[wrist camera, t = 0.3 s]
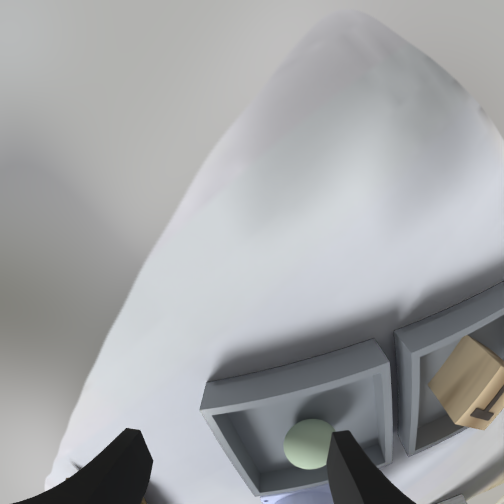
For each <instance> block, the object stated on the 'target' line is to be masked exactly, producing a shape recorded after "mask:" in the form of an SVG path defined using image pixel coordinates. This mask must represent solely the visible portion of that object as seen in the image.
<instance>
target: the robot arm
mask: <svg viewBox="0 0 504 504" xmlns="http://www.w3.org/2000/svg"><path fill="white" fill-rule="evenodd" d="M152 465H153V459H152V457H151V454H150V452H149V450H148V448H147V445H146V443H145V440H144V438H143V436H142V433H141V431H140V430H136V429H130V428H126V429H125V430H124V431H123V432H122V433H121V434H120V435H119V436H118V437H116V438H115V439H114V440H113V441H112V442H111V443H110V444H109V445H108V446H107V447H106V448H105V449H104V450H103V451H102V452H101V453H100V454H98V455H97V456H96V457H95V458H94V459H93V460H92V461H91V462H89V463H88V464H87V465H86V466H84V467H83V468H82V469H81V470H79V471H78V472H77V473H75V474H74V475H73V476H71V477H70V478H68V479H67V480H65V481H64V482H62V483H60V484H59V485H57V486H55V487H53V488H52V489H50V490H48V491H45V492H43V493H41V494H39V495H37V496H35V497H32V498H29V499H26V500H23V501H20V502H17V503H13V504H141V502H142V500H143V497H144V494H145V491H146V489H147V486H148V483H149V479H150V475H151V470H152ZM326 465H327V473H328V481H329V483H328V484H324V485H319V486H315V487H310V488H306V489H301V490H295V491H290V492H284V493H278V494H271V495H264V496H260V500H261V501H262V503H263V504H416V503H415V502H413V501H412V500H411V499H409V498H408V497H407V496H406V495H404V494H403V493H402V492H401V491H400V490H399V489H398V488H397V487H395V486H394V485H393V484H392V483H391V482H390V481H389V480H388V479H387V478H386V477H385V475H384V474H383V473H382V472H381V471H380V470H379V469H378V468H377V467H376V465H375V464H374V463H373V462H372V461H371V459H370V458H369V457H368V456H367V454H366V453H365V452H364V450H363V449H362V448H361V446H360V445H359V444H358V442H357V441H356V439H355V438H354V436H353V435H352V433H351V432H350V431H349V430H344V431H337V432H332V435H331V441H330V446H329V452H328V457H327V462H326Z"/></svg>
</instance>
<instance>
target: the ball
mask: <svg viewBox="0 0 504 504" xmlns="http://www.w3.org/2000/svg"><path fill="white" fill-rule="evenodd" d="M332 432H336V430H335V429H334V428H333V427H332V426H331V425H330V424H329V423H327V422H325V421H323V420H320V419H306V420H303V421H300V422H298V423H297V424H295V425H294V426H293V427H292V428H291V429H290V430H289V431H288V432H287V434H286V436H285V439H284V444H283V447H284V452H285V455H286V457H287V459H288V460H289V461H290V462H291V463H292V464H293V465H295V466H297V467H299V468H302V469H317V468H320V467H323V466H325V465H326V462H327V457H328V452H329V446H330V441H331V435H332Z"/></svg>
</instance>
